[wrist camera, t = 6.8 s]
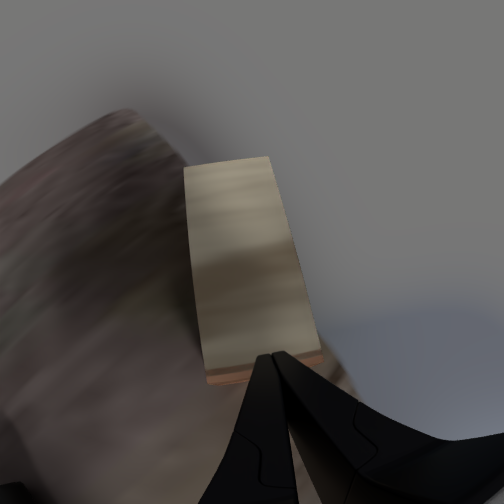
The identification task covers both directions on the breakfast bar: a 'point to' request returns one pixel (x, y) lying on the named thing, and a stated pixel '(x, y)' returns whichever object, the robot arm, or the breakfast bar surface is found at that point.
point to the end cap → (15, 494)
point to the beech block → (245, 270)
